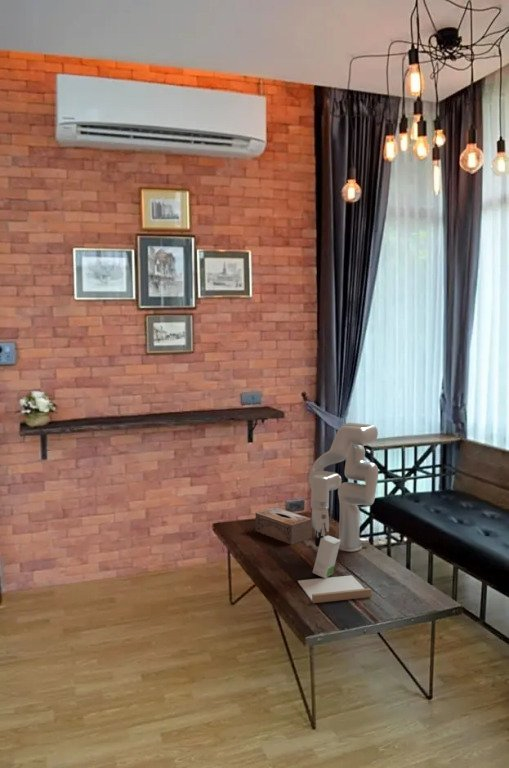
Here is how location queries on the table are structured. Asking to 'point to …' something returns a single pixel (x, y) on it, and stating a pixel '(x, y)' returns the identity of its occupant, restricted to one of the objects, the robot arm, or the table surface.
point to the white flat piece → (334, 589)
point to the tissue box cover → (284, 525)
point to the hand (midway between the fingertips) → (319, 545)
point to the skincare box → (326, 556)
